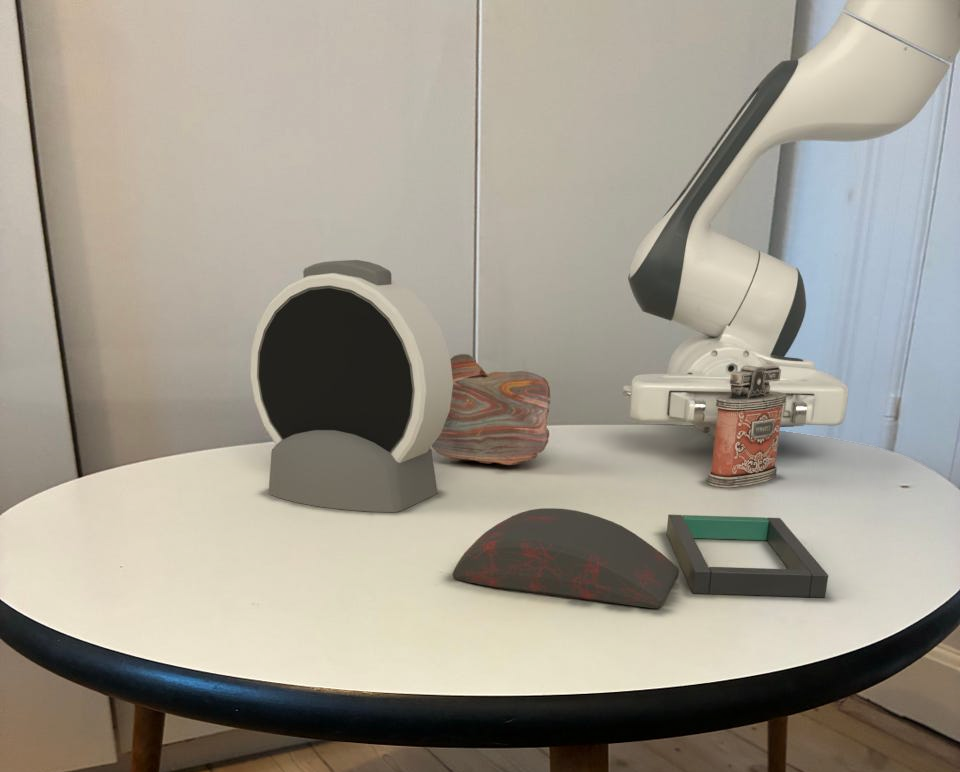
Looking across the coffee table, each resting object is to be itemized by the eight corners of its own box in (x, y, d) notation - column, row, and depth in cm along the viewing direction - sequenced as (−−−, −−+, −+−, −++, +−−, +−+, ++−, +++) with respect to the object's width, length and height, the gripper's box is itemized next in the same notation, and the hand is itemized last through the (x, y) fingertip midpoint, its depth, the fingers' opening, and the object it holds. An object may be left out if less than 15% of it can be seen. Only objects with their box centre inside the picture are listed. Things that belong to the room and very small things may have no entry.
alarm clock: (236, 494, 84) (219, 258, 77) (306, 470, 93) (296, 255, 86) (409, 520, 78) (407, 266, 71) (466, 491, 87) (470, 262, 80)
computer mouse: (485, 551, 71) (486, 494, 70) (681, 575, 67) (687, 516, 66) (443, 586, 64) (443, 524, 63) (660, 615, 60) (665, 550, 58)
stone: (413, 464, 96) (412, 354, 92) (443, 447, 104) (443, 344, 100) (543, 475, 93) (548, 362, 89) (564, 457, 100) (570, 351, 96)
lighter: (729, 489, 89) (742, 372, 85) (698, 481, 92) (710, 367, 88) (784, 477, 94) (799, 365, 90) (754, 470, 96) (767, 361, 92)
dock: (777, 537, 76) (780, 517, 75) (825, 597, 64) (828, 575, 63) (666, 533, 76) (668, 514, 75) (692, 593, 64) (694, 570, 63)
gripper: (622, 355, 103) (635, 374, 90) (827, 360, 102) (870, 379, 89) (618, 419, 105) (630, 445, 93) (818, 423, 105) (859, 451, 92)
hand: (750, 413), depth 91 cm, fingers open, 8 cm apart
